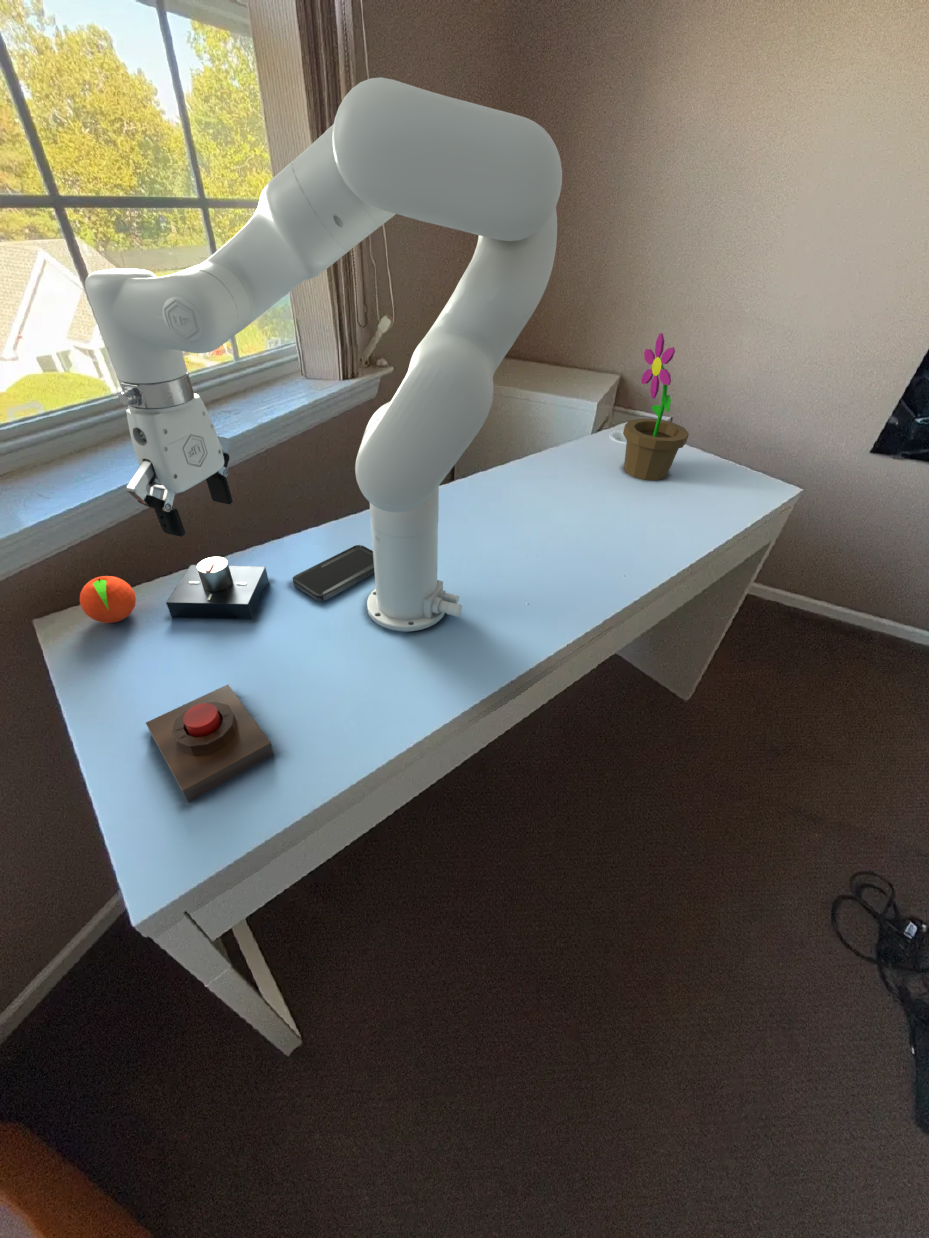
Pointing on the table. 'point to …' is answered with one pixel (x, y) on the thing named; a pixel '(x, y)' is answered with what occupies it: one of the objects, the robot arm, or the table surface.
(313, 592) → the phone
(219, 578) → the hob knob
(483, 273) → the robot arm
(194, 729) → the button
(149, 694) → the table surface
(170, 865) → the table surface
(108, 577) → the clementine
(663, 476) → the flowerpot
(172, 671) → the table surface
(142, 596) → the table surface
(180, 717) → the button block
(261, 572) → the panel
